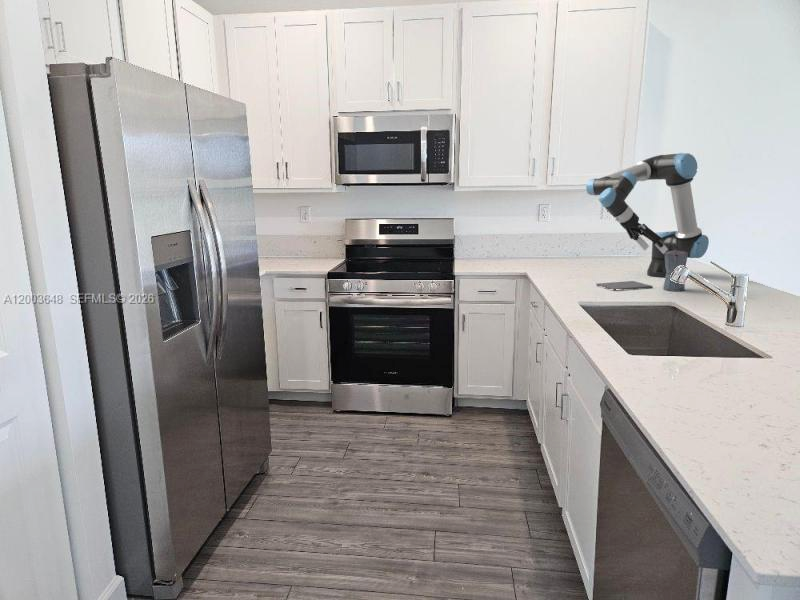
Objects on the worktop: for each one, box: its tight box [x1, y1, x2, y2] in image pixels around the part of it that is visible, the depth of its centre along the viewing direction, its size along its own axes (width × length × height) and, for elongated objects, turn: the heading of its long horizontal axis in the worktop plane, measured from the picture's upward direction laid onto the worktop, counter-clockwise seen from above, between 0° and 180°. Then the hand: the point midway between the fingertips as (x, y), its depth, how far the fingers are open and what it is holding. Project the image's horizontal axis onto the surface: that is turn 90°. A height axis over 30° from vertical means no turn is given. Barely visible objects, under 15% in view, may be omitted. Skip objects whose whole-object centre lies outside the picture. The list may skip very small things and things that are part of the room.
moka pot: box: [662, 247, 688, 292], centre depth 239 cm, size 10×15×20 cm, turn 158°
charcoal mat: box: [595, 280, 653, 290], centre depth 252 cm, size 20×15×1 cm
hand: (655, 249), depth 236 cm, fingers open, 13 cm apart
